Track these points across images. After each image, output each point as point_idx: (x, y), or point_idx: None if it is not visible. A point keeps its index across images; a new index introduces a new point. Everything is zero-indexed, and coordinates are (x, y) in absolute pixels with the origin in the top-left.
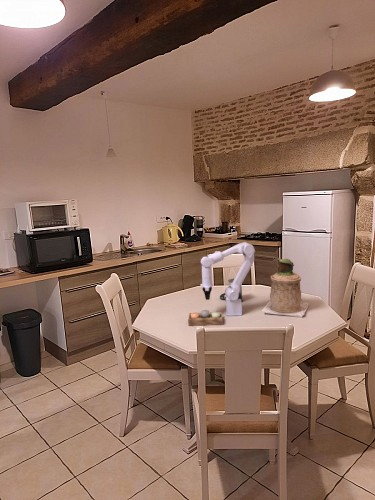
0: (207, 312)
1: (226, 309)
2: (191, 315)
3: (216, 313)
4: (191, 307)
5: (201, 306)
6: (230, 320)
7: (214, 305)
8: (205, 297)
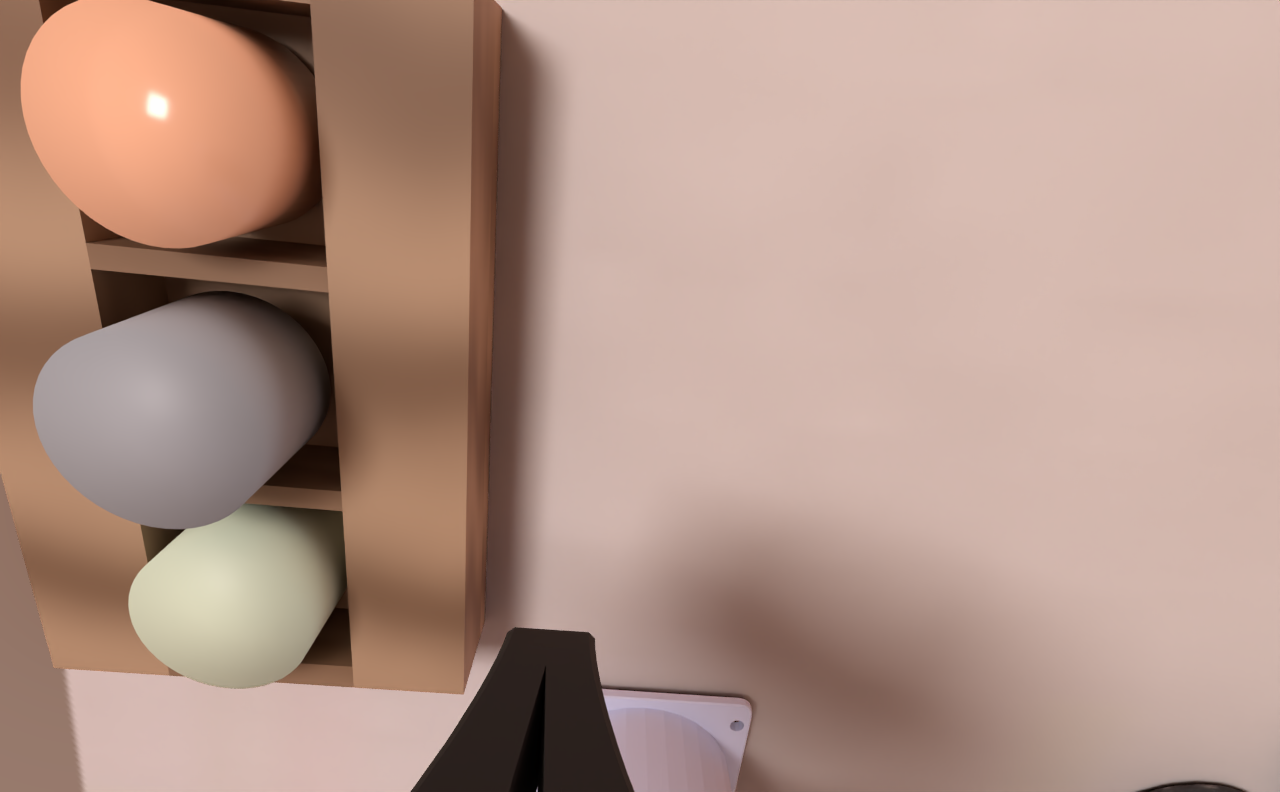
0: (72, 485)
1: (624, 764)
2: (62, 17)
3: (209, 633)
4: (1267, 94)
5: (1211, 332)
6: (337, 711)
7: (1139, 568)
8: (480, 688)
